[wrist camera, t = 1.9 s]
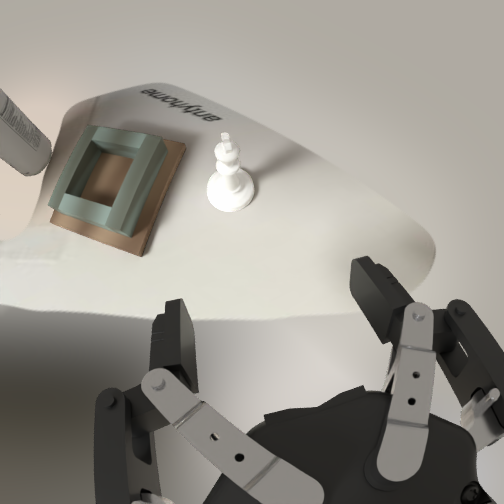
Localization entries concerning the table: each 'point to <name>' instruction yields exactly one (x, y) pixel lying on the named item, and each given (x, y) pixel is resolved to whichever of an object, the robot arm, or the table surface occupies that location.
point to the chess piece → (229, 179)
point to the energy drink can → (21, 140)
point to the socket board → (115, 186)
